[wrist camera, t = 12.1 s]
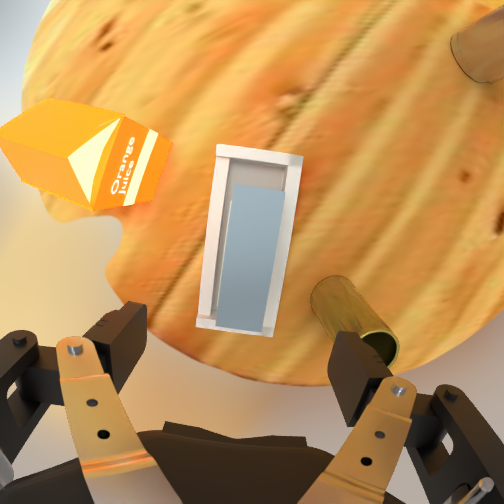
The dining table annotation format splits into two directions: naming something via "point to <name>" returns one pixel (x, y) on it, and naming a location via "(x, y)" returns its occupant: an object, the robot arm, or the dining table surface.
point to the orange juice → (85, 154)
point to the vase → (352, 316)
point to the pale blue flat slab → (248, 257)
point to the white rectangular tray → (225, 176)
